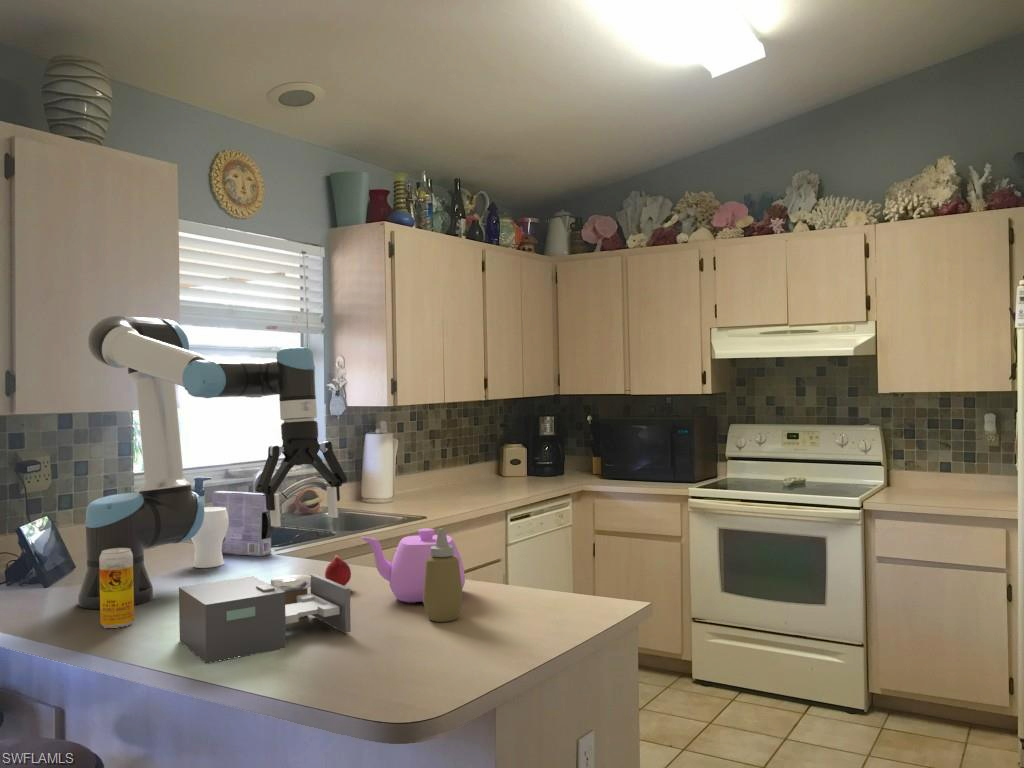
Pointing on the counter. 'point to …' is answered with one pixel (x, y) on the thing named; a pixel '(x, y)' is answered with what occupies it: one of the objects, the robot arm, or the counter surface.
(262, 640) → the box
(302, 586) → the disc
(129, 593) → the beer can
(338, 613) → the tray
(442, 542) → the squeeze bottle
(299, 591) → the brown wooden block
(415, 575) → the teapot
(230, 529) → the cake pan box
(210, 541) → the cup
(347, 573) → the onion
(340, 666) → the counter surface
